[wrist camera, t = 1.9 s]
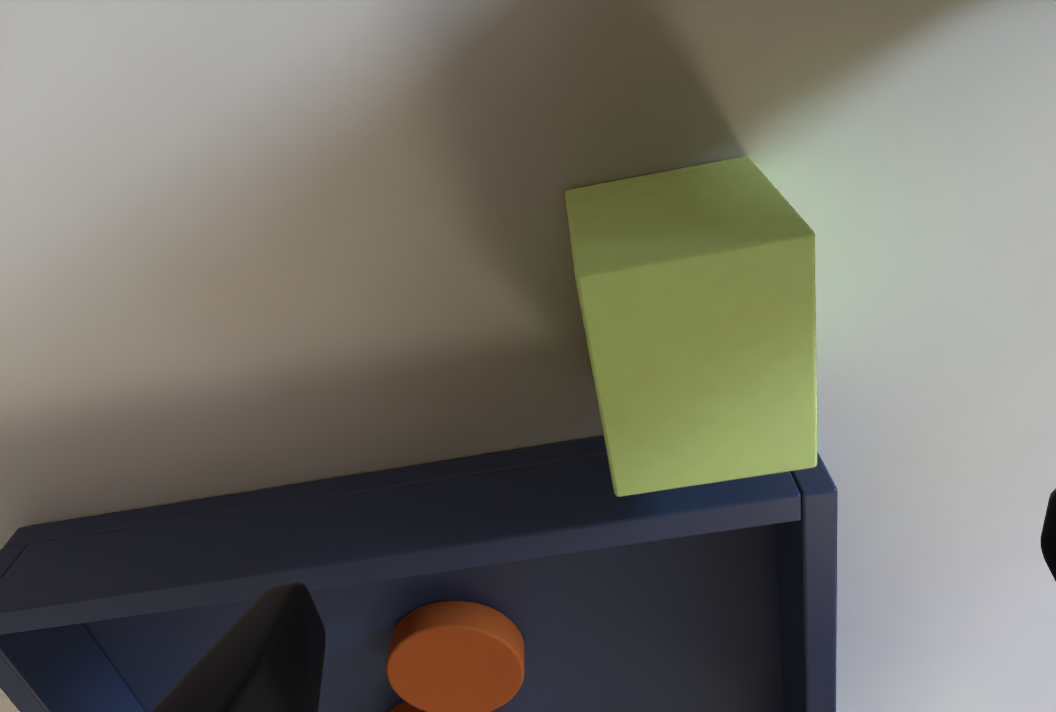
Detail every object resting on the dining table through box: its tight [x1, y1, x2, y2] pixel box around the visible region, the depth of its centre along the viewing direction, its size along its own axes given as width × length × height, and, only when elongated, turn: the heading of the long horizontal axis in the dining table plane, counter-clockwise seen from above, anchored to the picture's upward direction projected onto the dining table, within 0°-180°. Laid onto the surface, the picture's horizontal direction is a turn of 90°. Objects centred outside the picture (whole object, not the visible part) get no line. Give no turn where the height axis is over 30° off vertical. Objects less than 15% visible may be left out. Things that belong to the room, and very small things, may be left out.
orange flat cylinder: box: [386, 600, 524, 712], centre depth 23 cm, size 4×4×1 cm
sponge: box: [565, 156, 817, 497], centre depth 16 cm, size 4×5×4 cm
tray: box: [0, 436, 837, 712], centre depth 23 cm, size 22×16×3 cm
